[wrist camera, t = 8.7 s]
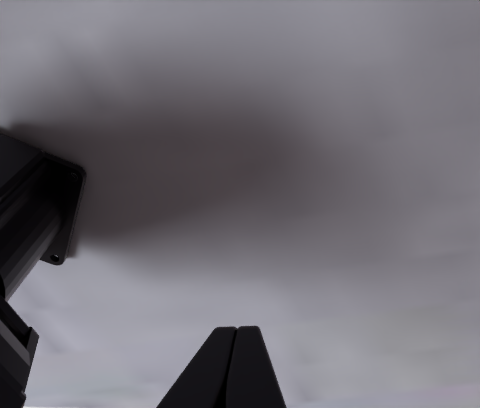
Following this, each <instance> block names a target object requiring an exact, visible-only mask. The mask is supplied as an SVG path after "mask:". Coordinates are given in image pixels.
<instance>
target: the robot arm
mask: <svg viewBox="0 0 480 408" xmlns="http://www.w3.org/2000/svg"><path fill="white" fill-rule="evenodd" d="M71 173H74V174H76V175H77V177H78V178H75V177H73V176H72V174H71ZM85 180H86V173H85V170H84V169H83V168H82V167H80V166H79V165H77V164H74V163H71V162H69V161H66V160H64V159H61V158H59V157H56V156H54V155H51V154H49V153H46V152H44V151H42V150H41V149H38V148H36V147H33V146H31V145H28V144H26V143H23V142H21V141H18V140H15V139H13V138H10V137H8V136H5V135H3V134H0V408H23V406H24V403H25V400H26V394H25V393H24V392H25V389H26V385H27V381H28V377H29V373H30V369H31V366H32V362H33V358H34V354H35V350H36V346H37V343H38V339H39V335H38V334H37V333H36V332H35V330H34V329H33V328H32V327H28V326H27V325H26V323H25V322H24V321H23V320H22V319H21V318H20V316H19V315H18V314H17V313H16V312H15V311H14V309H13V308H12V307H11V306H10V305H9V304H8V302H7V301H8V300H9V299H10V297H11V296H12V295H13V293H14V292H15V291H16V290H17V288H18V287H19V286H20V284H21V283H22V282H23V280H24V279H25V278H26V276H27V275H28V274H29V272H30V271H31V270H32V268H33V267H34V266H35V264H36V263H37V262H38V261H39V260H42V261H45V262H47V263H50V264H53V265H61V264H63V262H64V261H65V259H66V258H67V254H68V250H69V246H70V242H71V238H72V234H73V229H74V225H75V221H76V217H77V213H78V209H79V205H80V200H81V196H82V192H83V188H84V184H85ZM55 255H57V256H58V257H56V256H55ZM156 408H286V405H285V402H284V399H283V396H282V393H281V390H280V387H279V384H278V381H277V378H276V375H275V372H274V369H273V366H272V363H271V360H270V357H269V354H268V351H267V349H266V346H265V343H264V340H263V337H262V334H261V331H260V328H259V327H258V326H240V327H239V328H238V329H237V328H236V327H217V328H215V329H214V330H213V332H212V333H211V334H210V336H209V337H208V338H207V340H206V341H205V342H204V344H203V345H202V346H201V348H200V349H199V350H198V352H197V353H196V355H195V356H194V357H193V359H192V360H191V361H190V363H189V364H188V365H187V367H186V368H185V369H184V371H183V372H182V373H181V375H180V376H179V378H178V379H177V380H176V382H175V383H174V384H173V386H172V387H171V388H170V390H169V391H168V392H167V394H166V395H165V397H164V398H163V399H162V401H161V402H160V403H159V405H158V406H157V407H156Z"/></svg>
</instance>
